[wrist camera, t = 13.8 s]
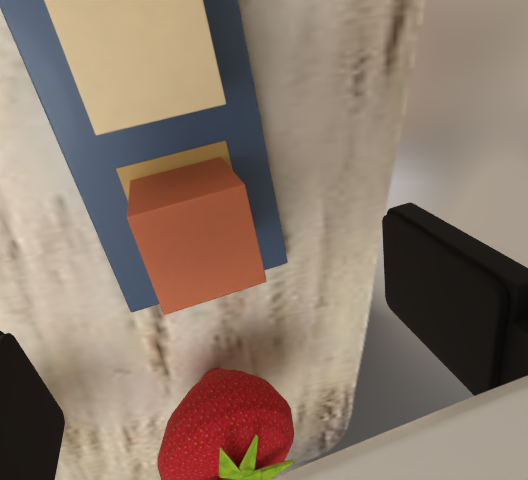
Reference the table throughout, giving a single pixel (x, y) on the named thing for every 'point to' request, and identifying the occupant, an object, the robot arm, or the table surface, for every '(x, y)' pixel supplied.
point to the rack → (146, 107)
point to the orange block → (195, 233)
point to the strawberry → (227, 430)
